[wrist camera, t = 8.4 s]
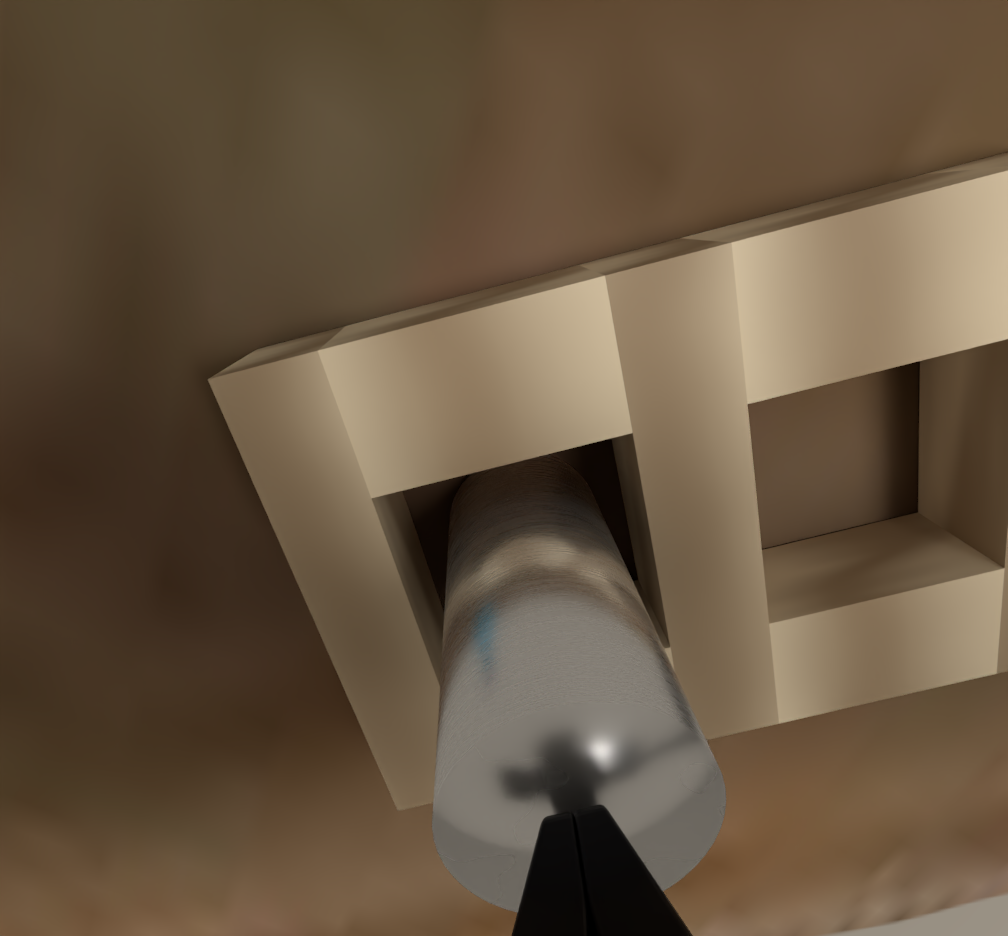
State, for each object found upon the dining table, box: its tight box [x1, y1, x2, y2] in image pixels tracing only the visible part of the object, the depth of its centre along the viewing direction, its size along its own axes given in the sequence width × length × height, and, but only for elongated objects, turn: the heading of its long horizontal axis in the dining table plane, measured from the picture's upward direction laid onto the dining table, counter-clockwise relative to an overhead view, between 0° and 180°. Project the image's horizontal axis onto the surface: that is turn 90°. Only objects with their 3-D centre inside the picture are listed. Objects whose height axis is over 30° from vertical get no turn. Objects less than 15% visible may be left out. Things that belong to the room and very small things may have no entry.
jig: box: [208, 152, 1008, 811], centre depth 15 cm, size 18×12×3 cm, turn 104°
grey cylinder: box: [432, 455, 726, 913], centre depth 13 cm, size 4×4×9 cm
